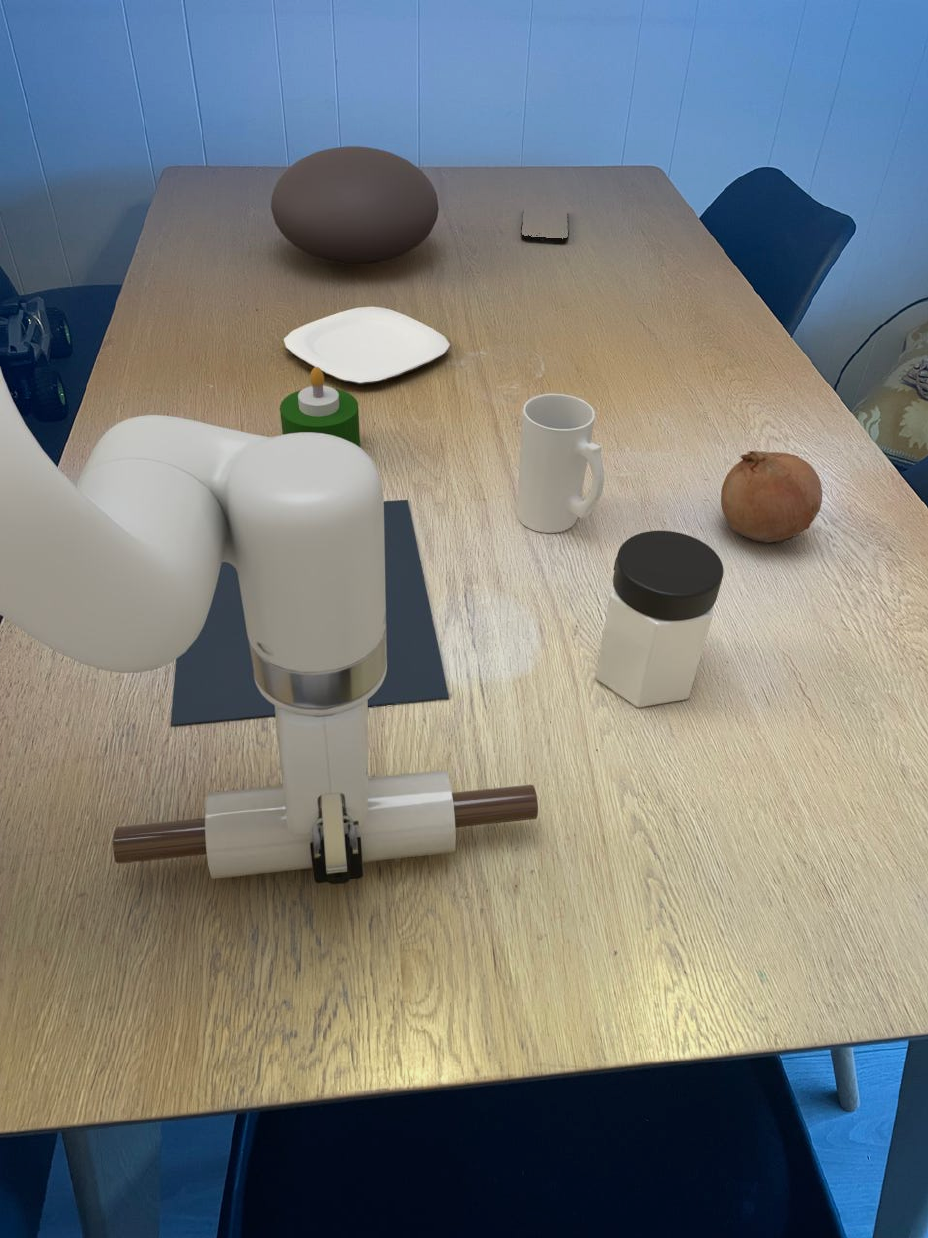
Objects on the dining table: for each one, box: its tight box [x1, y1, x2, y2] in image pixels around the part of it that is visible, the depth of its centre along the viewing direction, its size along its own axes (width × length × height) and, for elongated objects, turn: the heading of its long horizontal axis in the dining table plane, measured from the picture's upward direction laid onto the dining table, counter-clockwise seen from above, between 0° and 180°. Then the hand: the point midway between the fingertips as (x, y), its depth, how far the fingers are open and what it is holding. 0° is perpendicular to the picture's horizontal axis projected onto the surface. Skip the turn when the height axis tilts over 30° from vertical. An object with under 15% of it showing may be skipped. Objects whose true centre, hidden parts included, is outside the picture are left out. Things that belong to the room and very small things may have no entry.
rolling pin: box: [112, 769, 539, 880], centre depth 63 cm, size 28×6×6 cm, turn 99°
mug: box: [516, 393, 605, 534], centre depth 90 cm, size 10×7×12 cm, turn 37°
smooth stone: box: [270, 145, 440, 266], centre depth 139 cm, size 25×25×15 cm
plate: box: [283, 306, 451, 385], centre depth 120 cm, size 18×18×2 cm
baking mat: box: [170, 499, 450, 727], centre depth 85 cm, size 28×22×1 cm
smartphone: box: [520, 226, 570, 244], centre depth 156 cm, size 8×1×15 cm
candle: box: [279, 367, 361, 448], centre depth 99 cm, size 8×8×10 cm
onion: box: [720, 450, 823, 544], centre depth 92 cm, size 10×9×10 cm
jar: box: [594, 530, 725, 708], centre depth 75 cm, size 9×8×12 cm
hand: (335, 835), depth 64 cm, fingers closed on rolling pin, 5 cm apart
